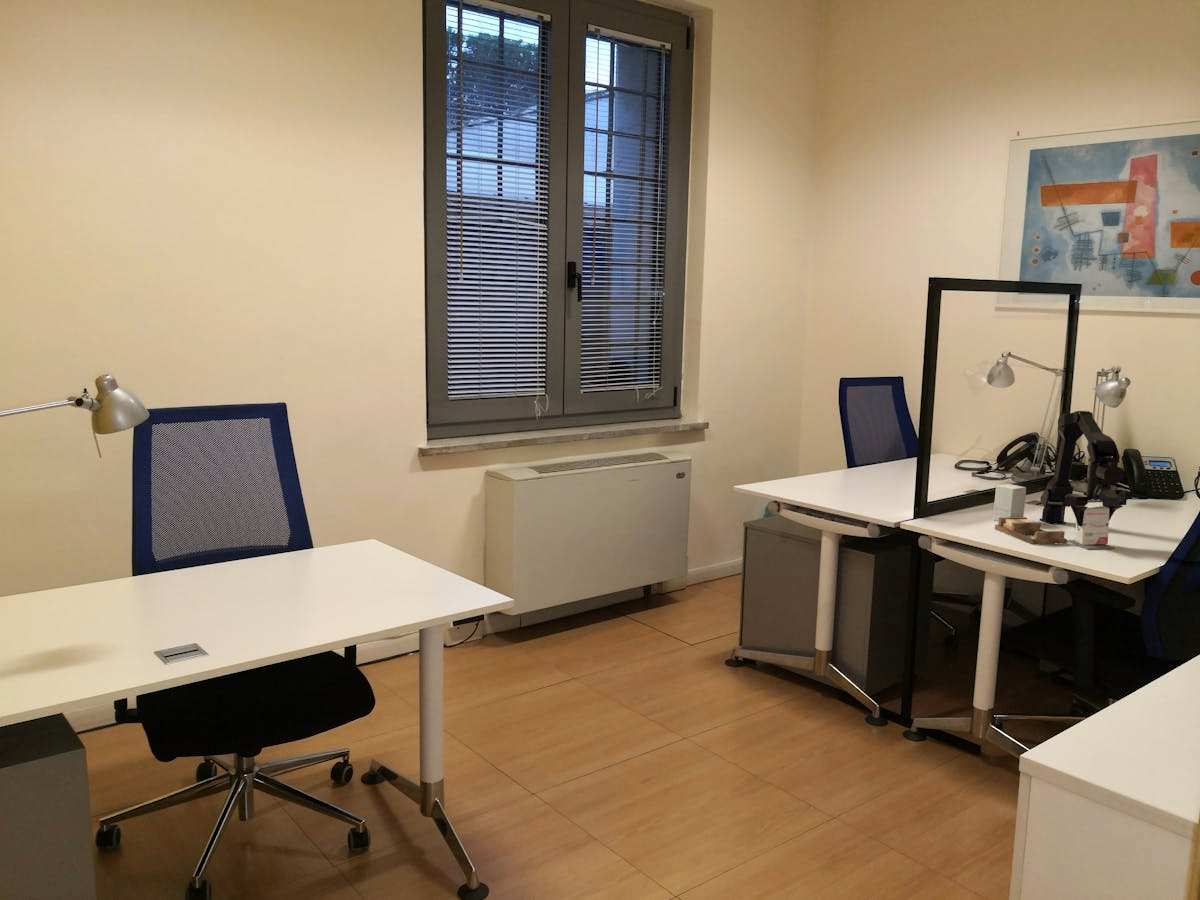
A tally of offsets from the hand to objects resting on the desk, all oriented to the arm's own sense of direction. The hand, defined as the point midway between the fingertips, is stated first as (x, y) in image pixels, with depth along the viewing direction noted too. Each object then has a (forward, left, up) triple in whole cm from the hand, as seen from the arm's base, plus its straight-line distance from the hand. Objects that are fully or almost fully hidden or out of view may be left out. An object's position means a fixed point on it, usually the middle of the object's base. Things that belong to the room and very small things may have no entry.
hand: (1092, 525), depth 313 cm
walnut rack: (+13, -13, -6) cm, 19 cm away
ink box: (0, 0, -6) cm, 6 cm away
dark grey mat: (0, 0, -6) cm, 6 cm away
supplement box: (+7, -33, -7) cm, 34 cm away
